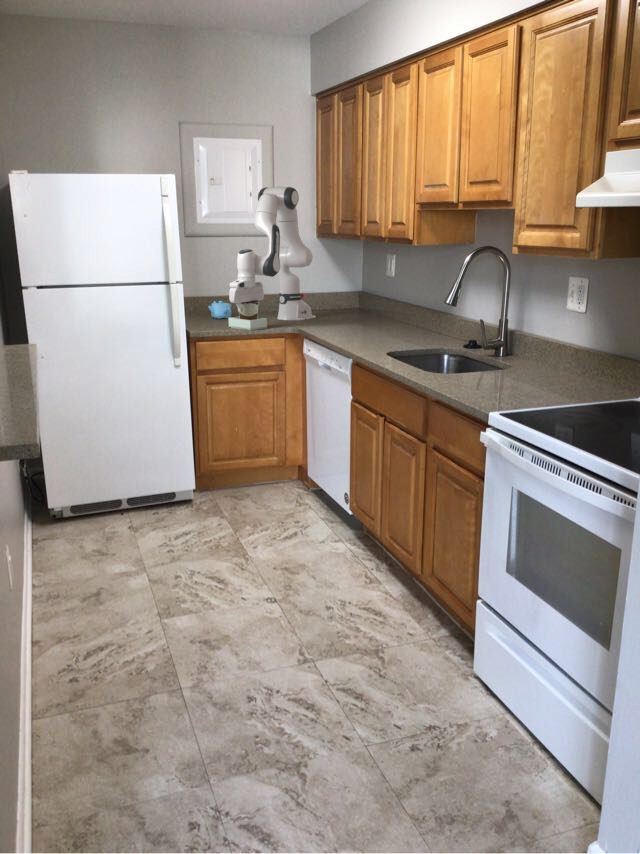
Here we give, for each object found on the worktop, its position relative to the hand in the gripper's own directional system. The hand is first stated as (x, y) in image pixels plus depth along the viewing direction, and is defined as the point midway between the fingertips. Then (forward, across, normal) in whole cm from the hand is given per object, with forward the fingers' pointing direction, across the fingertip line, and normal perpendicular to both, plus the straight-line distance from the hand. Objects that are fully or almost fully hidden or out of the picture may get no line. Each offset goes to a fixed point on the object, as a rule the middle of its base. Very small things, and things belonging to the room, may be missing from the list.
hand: (247, 310), depth 387 cm
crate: (+9, 0, 0) cm, 9 cm away
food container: (+5, -2, 0) cm, 5 cm away
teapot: (+9, -13, -39) cm, 42 cm away
